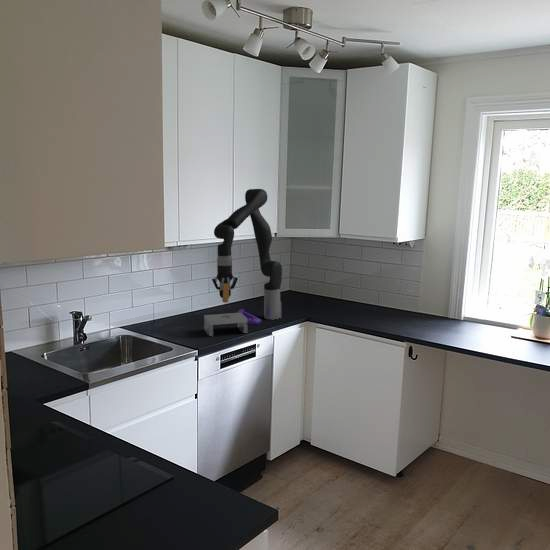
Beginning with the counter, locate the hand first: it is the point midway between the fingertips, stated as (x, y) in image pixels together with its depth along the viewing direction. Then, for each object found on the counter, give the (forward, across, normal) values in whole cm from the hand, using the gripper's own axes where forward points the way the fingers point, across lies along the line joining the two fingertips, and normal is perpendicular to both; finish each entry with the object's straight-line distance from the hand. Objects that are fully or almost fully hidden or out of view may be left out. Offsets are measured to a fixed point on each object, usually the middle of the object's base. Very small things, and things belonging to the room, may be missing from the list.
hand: (225, 296), depth 287 cm
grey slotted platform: (+19, 0, 0) cm, 19 cm away
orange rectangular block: (+3, 0, 0) cm, 3 cm away
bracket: (+19, -17, -15) cm, 30 cm away
